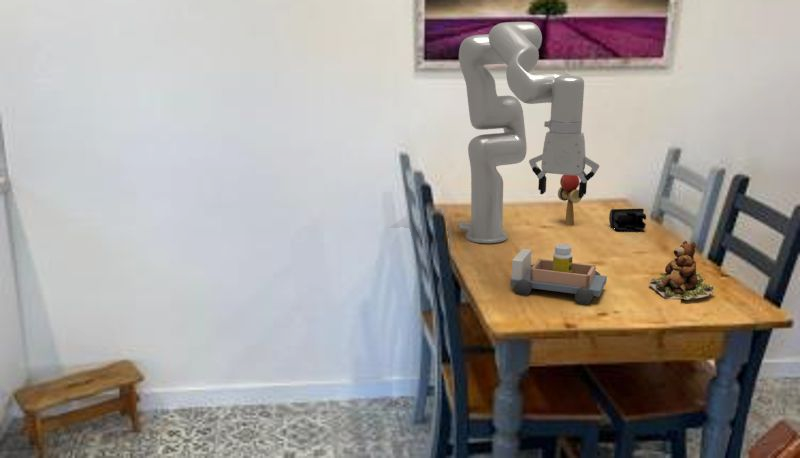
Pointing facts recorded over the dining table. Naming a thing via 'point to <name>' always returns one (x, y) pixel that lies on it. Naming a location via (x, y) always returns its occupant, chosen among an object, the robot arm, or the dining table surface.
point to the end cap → (627, 220)
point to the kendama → (569, 195)
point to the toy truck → (555, 278)
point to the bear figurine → (682, 277)
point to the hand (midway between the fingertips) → (561, 195)
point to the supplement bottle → (562, 258)
